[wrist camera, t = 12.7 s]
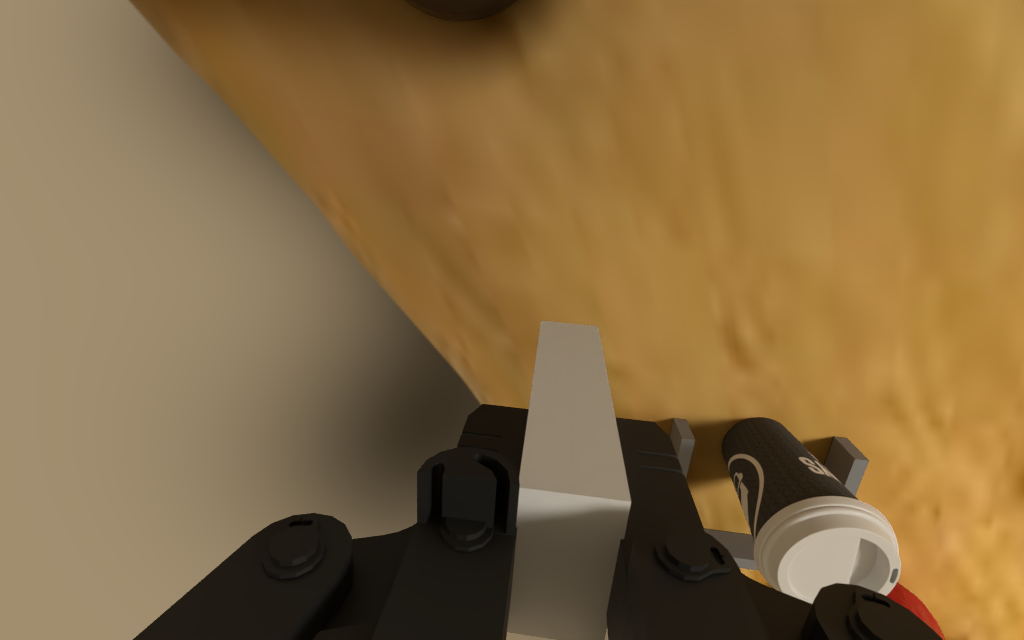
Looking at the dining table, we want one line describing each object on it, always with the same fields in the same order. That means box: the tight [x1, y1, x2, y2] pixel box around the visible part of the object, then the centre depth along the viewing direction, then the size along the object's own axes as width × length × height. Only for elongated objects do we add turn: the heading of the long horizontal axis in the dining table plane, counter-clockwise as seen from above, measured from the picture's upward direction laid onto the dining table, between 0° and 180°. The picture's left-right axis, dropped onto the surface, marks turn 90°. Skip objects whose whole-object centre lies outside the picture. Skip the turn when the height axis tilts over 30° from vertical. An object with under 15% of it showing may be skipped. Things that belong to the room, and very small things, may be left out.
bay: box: [670, 418, 869, 570], centre depth 47 cm, size 14×16×4 cm
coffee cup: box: [722, 418, 901, 604], centre depth 40 cm, size 10×10×15 cm
